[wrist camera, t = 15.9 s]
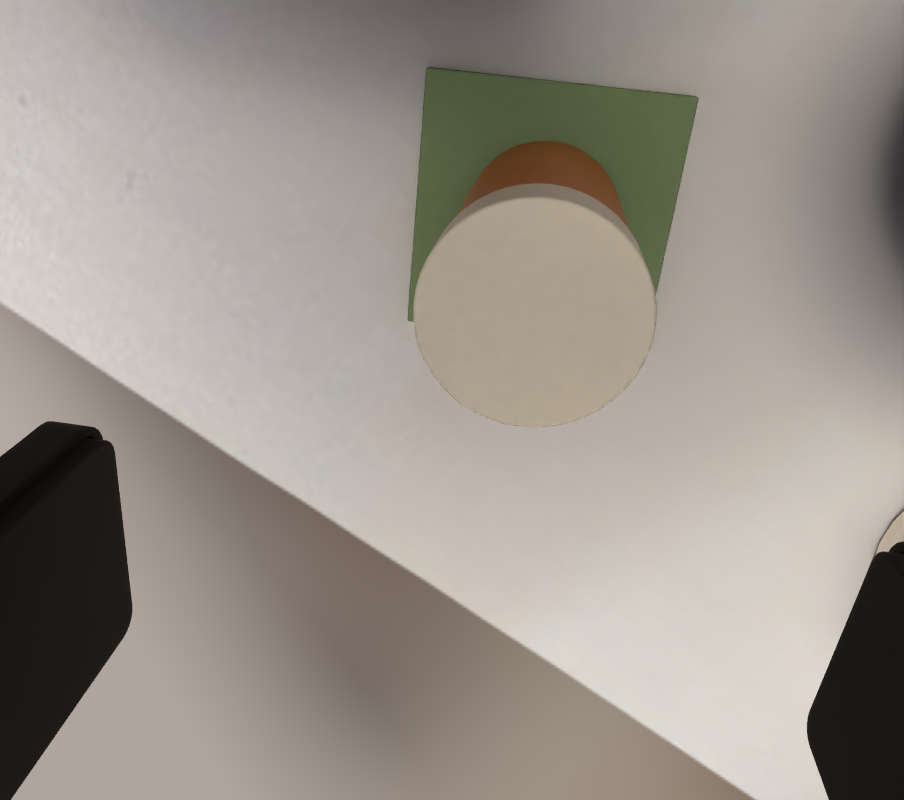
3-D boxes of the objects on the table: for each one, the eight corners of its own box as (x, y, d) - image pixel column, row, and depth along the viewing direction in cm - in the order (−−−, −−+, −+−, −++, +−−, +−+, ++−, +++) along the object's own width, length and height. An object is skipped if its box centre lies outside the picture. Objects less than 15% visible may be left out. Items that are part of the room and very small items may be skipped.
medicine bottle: (456, 285, 32) (404, 411, 21) (472, 128, 30) (422, 182, 19) (606, 305, 32) (630, 443, 21) (636, 147, 29) (681, 213, 18)
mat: (409, 317, 34) (407, 321, 33) (428, 66, 29) (426, 67, 29) (642, 348, 33) (643, 352, 32) (696, 96, 29) (699, 97, 28)
